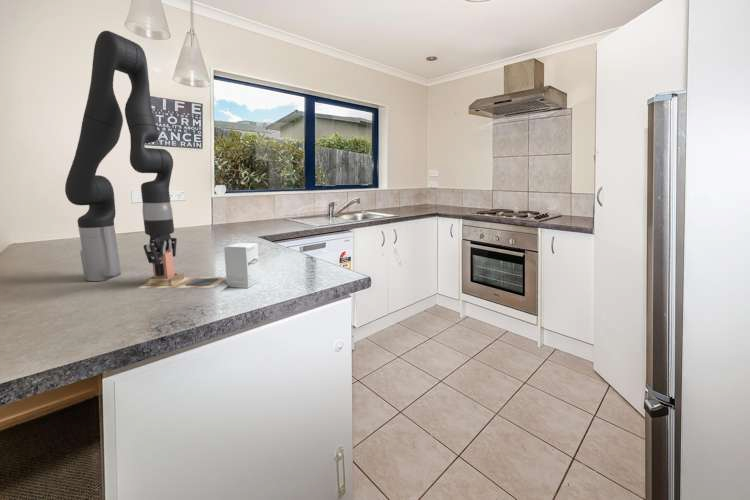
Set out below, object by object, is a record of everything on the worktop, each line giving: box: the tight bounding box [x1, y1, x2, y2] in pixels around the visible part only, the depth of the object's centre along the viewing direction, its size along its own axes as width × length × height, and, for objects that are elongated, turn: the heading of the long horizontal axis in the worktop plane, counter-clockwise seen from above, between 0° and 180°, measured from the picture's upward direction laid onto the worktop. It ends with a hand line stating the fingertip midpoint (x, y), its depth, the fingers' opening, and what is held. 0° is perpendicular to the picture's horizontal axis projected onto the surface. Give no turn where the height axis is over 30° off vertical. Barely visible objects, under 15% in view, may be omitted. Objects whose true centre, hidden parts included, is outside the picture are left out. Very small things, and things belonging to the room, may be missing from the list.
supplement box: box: [223, 242, 261, 289], centre depth 111 cm, size 7×7×13 cm
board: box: [137, 272, 226, 289], centre depth 111 cm, size 22×11×3 cm, turn 92°
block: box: [152, 251, 176, 279], centre depth 110 cm, size 4×4×9 cm
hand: (164, 273), depth 110 cm, fingers closed on block, 4 cm apart
